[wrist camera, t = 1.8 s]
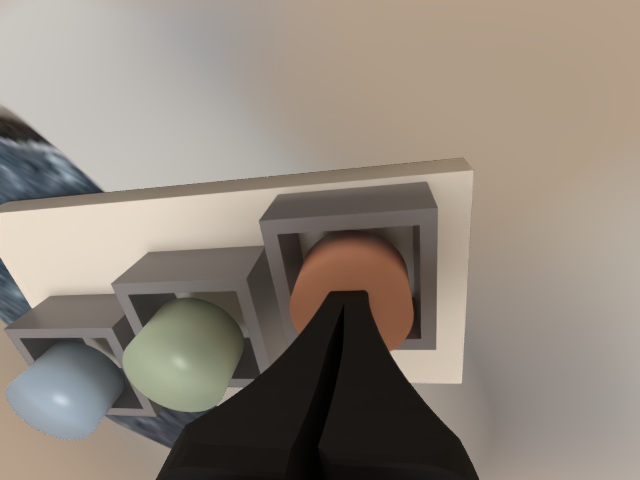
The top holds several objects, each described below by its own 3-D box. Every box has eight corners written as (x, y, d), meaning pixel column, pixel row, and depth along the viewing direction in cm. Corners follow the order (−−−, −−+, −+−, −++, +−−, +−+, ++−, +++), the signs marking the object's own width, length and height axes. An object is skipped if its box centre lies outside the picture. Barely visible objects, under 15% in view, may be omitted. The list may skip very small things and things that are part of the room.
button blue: (136, 400, 20) (108, 442, 17) (70, 398, 20) (34, 438, 18) (104, 340, 18) (67, 379, 16) (32, 341, 18) (-12, 377, 16)
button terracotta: (409, 318, 15) (414, 360, 13) (310, 320, 16) (300, 359, 14) (406, 226, 13) (412, 258, 11) (293, 233, 14) (279, 264, 12)
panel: (454, 356, 21) (474, 433, 17) (95, 355, 26) (38, 415, 21) (462, 157, 16) (495, 195, 11) (9, 201, 20) (-90, 240, 16)
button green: (253, 369, 17) (236, 413, 15) (172, 368, 18) (145, 410, 16) (231, 296, 15) (207, 334, 13) (141, 298, 16) (105, 335, 14)
